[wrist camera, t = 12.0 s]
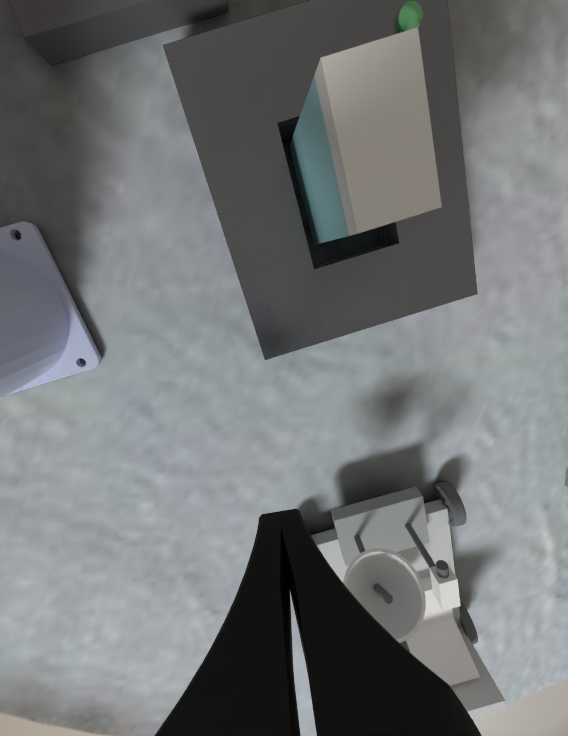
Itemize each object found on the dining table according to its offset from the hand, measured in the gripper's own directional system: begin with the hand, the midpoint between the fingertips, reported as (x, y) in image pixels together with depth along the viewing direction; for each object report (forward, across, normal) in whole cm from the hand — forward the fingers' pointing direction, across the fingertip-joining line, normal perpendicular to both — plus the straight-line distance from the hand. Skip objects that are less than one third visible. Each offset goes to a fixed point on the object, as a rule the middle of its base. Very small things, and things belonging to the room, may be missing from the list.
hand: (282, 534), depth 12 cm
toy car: (+11, -7, +14) cm, 20 cm away
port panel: (+10, -5, -12) cm, 17 cm away
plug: (+10, -5, -12) cm, 17 cm away
